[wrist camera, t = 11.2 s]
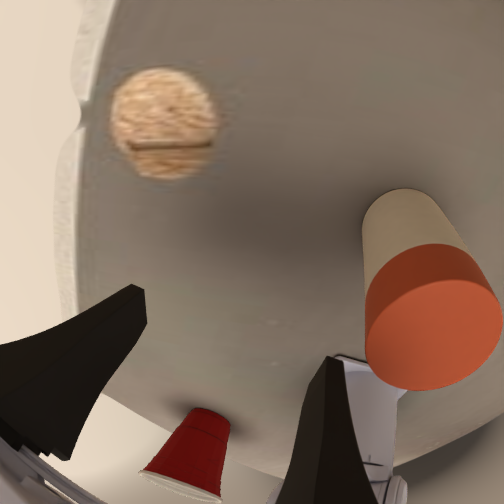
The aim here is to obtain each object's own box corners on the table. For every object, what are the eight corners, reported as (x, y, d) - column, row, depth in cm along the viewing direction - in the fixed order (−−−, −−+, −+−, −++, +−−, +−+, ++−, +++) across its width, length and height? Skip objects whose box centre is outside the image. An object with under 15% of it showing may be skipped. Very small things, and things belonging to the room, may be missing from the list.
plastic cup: (235, 443, 41) (207, 508, 32) (170, 412, 42) (136, 476, 32) (263, 424, 35) (232, 508, 25) (184, 387, 35) (140, 468, 25)
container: (379, 175, 16) (408, 257, 8) (457, 207, 15) (528, 305, 7) (349, 253, 19) (341, 374, 11) (422, 279, 18) (450, 400, 10)
